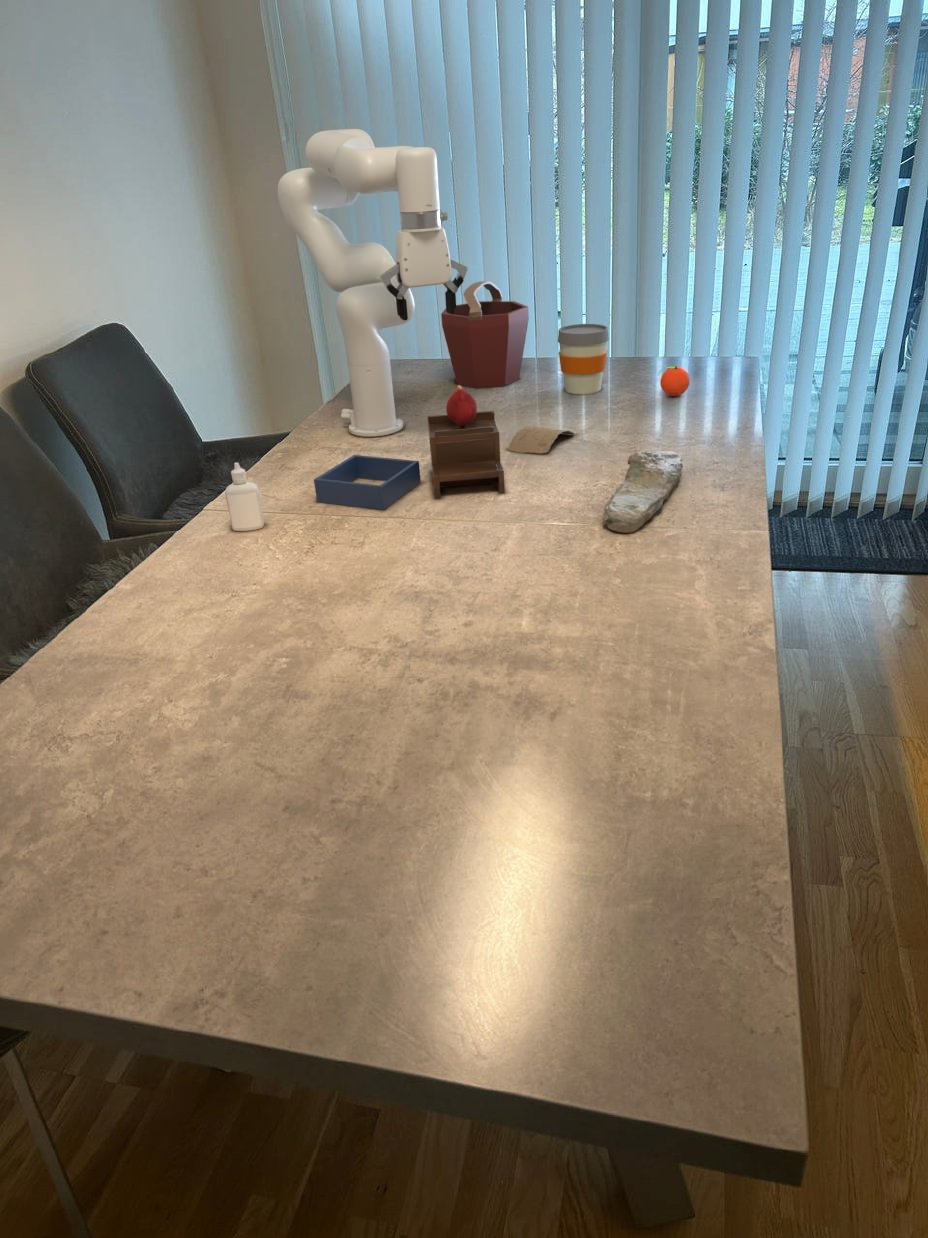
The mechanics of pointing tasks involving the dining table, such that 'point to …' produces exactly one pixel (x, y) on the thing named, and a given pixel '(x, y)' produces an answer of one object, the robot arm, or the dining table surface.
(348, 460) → the crate
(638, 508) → the elongated rock
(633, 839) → the dining table surface
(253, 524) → the eye dropper bottle
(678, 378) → the clementine
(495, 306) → the bucket
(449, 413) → the onion
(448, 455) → the step shelf
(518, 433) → the clay tablet
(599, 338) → the reusable coffee cup
